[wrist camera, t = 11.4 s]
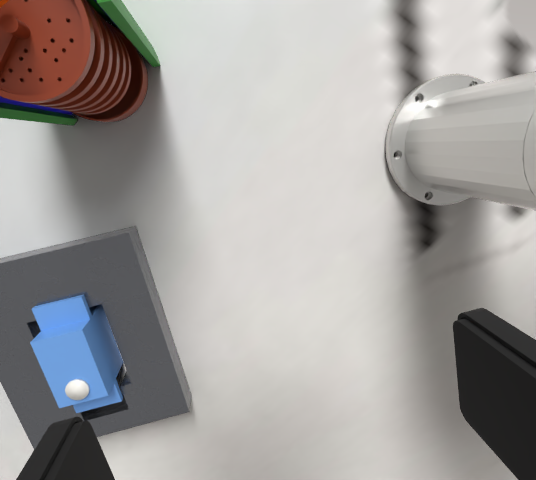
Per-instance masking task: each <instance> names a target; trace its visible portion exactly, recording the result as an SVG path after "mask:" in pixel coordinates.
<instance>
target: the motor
mask: <svg viewBox="0 0 536 480" xmlns="http://www.w3.org/2000/svg"><path fill="white" fill-rule="evenodd" d="M106 21H109V22H112V23H114V24H115V25H116V26H117V27H118V29H119V30H121V31H122V32H123V33H124V34H125V35H126V36H125V35H124V34H123V33H122V32H121V31H119V30H118V29H117V28H115V27H114V26H112V25H110V24H108V23H107V22H106ZM131 42H132V43H131ZM136 48H137V49H138V50H139V51H138V50H137V49H136ZM139 52H140V53H141V54H142V55H143V56H144V57H145V59H146V60H147V61H148V62H149V63H150V64H151V66H152V67H156V66H160V63H159V60H158V57H157V55H156V52H155V50H154V48H153V47H152V45H151V44H150V42H149V41H148V39H147V38H146V36H145V35H144V33H143V32H142V30H141V29H140V27H139V26H138V24H137V23H136V21H135V20H134V18H133V17H132V15H131V14H130V13H129V11H128V10H127V8H126V7H125V5H124V4H123V2H122V1H121V0H0V118H8V119H17V120H26V121H36V122H45V123H54V124H64V125H73V126H74V125H75V123H76V122H77V120H78V119H76V118H75V117H73V116H72V114H73V113H74V114H76V115H78V116H80V117H82V118H85V119H89V120H95V121H101V122H115V121H119V120H122V119H125V118H127V117H129V116H130V115H132V114H133V113H134V112H135V111H136V110H137V109H138V108H139V107H140V106H141V104H142V102H143V100H144V98H145V96H146V92H147V87H148V75H147V69H146V66H145V63H144V60H143V58H142V56H141V54H140V53H139Z"/></svg>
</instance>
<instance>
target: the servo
mask: <svg viewBox="0 0 536 480" xmlns="http://www.w3.org/2000/svg"><path fill="white" fill-rule="evenodd" d="M32 311H33V314H34V316H35V318H36V321H37V323H38V325H39V328H40V330H41V332H40V333H39V334H38V335H37V336H36V337H35V338H34V339H33V340H32V341H31V342H30V344H31V346H32V348H33V350H34V353H35V355H36V357H37V359H38V362H39V364H40V366H41V368H42V371H43V373H44V375H45V377H46V380H47V382H48V384H49V386H50V389H51V391H52V393H53V396H54V398H55V400H56V402H57V405H58V407H59V408H63V407H66V406H70V405H73V407H74V409H75V412H76V413H79V412H83V411H87V410H91V409H94V408H98V407H102V406H106V405H110V404H114V403H117V402H121V401H122V399H123V396H122V393H121V390H120V388H119V385H118V382H117V380H116V377H117V375H118V373H119V370H120V368H121V366H122V364H123V360H122V358H121V355H120V352H119V349H118V347H117V344H116V341H115V339H114V336H113V333H112V331H111V328H110V325H109V322H108V320H107V317H106V314H105V312H104V309H103V306H102V304H100V305H96V306H92V307H89V306H88V304H87V301H86V299H85V296H84V295H79V296H75V297H71V298H67V299H63V300H59V301H54V302H50V303H46V304H42V305H38V306H34V307H33V308H32Z"/></svg>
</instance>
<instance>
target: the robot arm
mask: <svg viewBox="0 0 536 480" xmlns="http://www.w3.org/2000/svg"><path fill="white" fill-rule="evenodd" d="M415 97H416V98H417V100H416V101H415ZM394 153H395V154H396V156H395V157H394ZM386 160H387V163H388V167H389V171H390V173H391V175H392V177H393V179H394V181H395V182H396V183H397V185H398V186H399V187H400V189H401V190H402V191H404V192H405V193H406V194H407V195H408V196H410V197H412V198H414V199H416V200H418V201H420V202H423V203H427V204H432V205H451V204H455V203H459V202H462V201H464V200H466V199H468V198H470V197H473V198H478V199H482V200H487V201H492V202H497V203H502V204H507V205H511V206H516V207H521V208H526V209H531V210H535V211H536V71H534V72H530V73H526V74H521V75H517V76H513V77H509V78H504V79H500V80H496V81H492V82H488V83H485V82H483V81H482V80H480V79H478V78H475V77H473V76H470V75H464V74H450V75H443V76H440V77H437V78H434V79H431V80H429V81H427V82H425V83H422V84H421V85H420V86H418V87H417V88H415V89H414V90H413V91H411V92H410V93H409V95H408V96H407V97H406V98H405V99H404V100H403V101H402V102H401V104H400V105H399V107H398V108H397V110H396V111H395V113H394V115H393V118H392V120H391V122H390V125H389V129H388V132H387V137H386ZM425 194H426V196H425ZM453 332H454V344H455V355H456V367H457V378H458V390H459V401H460V409H461V412H462V414H463V416H464V418H465V419H466V421H467V422H468V423H469V424H470V426H471V427H472V428H473V429H474V430H475V431H476V432H477V433H478V435H479V436H480V437H481V438H482V439H483V440H484V441H485V442H486V444H487V445H488V446H489V447H490V448H491V449H492V450H493V451H494V453H495V454H496V455H497V456H498V457H499V458H500V459H501V460H502V462H503V463H504V464H505V465H506V466H507V467H508V468H509V469H510V471H511V472H512V473H513V474H514V475H515V476H516V477H517V479H518V480H536V340H535V339H533V338H532V337H530V336H528V335H527V334H525V333H523V332H522V331H520V330H519V329H517V328H515V327H514V326H512V325H511V324H509V323H507V322H506V321H504V320H503V319H501V318H499V317H498V316H496V315H494V314H493V313H491V312H490V311H488V310H486V309H484V308H479V309H475V310H472V311H468V312H464V313H461V314H459V316H458V320H457V321H455V322H454V323H453ZM16 480H115V479H114V476H113V474H112V472H111V469H110V467H109V465H108V463H107V460H106V458H105V456H104V453H103V451H102V449H101V446H100V444H99V442H98V440H97V437H96V435H95V433H94V430H93V428H92V426H91V424H90V422H89V421H83V420H82V419H81V418H80V417H73V418H69V419H65V420H62V421H58V422H54V423H52V424H51V425H50V426H49V427H48V429H47V430H46V432H45V434H44V435H43V437H42V439H41V440H40V442H39V443H38V445H37V447H36V448H35V450H34V452H33V453H32V455H31V456H30V458H29V460H28V461H27V463H26V465H25V466H24V468H23V469H22V471H21V473H20V474H19V476H18V478H17V479H16Z"/></svg>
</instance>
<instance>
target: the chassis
mask: <svg viewBox="0 0 536 480" xmlns="http://www.w3.org/2000/svg"><path fill="white" fill-rule="evenodd" d="M79 295H84V296H85V299H86V301H87V304H88V306H89V307H92V306H96V305H100V304H102V306H103V309H104V311H105V314H106V317H107V319H108V322H109V324H110V327H111V330H112V332H113V335H114V338H115V340H116V343H117V345H118V348H119V351H120V353H121V356H122V359H123V361H124V364H125V366H126V369H127V372H126V374H125V376H124V379H123V381H122V383H121V386H120V388H121V390H122V393H123V395H122V396H123V399H122V401H121V402H117V403H114V404H110V405H106V406H102V407H98V408H94V409H91V410H87V411H83V412H79V413H76V412H75V409H74V407H73V405H70V406H66V407H63V408H59V407H58V405H57V402H56V400H55V398H54V396H53V393H52V391H51V389H50V386H49V384H48V382H47V380H46V377H45V375H44V373H43V371H42V368H41V366H40V364H39V362H38V359H37V357H36V355H35V353H34V350H33V348H32V346H31V344H30V342H31V341H32V340H33V339H34V338H35V337H36V336H37V335H38V334H39V333H40V332H41V330H40V328H39V325H38V323H37V321H36V318H35V316H34V314H33V311H32V308H33V307H34V306H38V305H42V304H46V303H50V302H54V301H59V300H63V299H67V298H71V297H75V296H79ZM0 382H1V384H2V386H3V388H4V390H5V392H6V394H7V396H8V398H9V400H10V402H11V404H12V406H13V408H14V410H15V412H16V414H17V416H18V418H19V420H20V422H21V424H22V426H23V428H24V430H25V432H26V434H27V436H28V438H29V440H30V442H31V444H32V446H33V448H34V450H35V448H36V447H37V445H38V443H39V442H40V440H41V439H42V437H43V435H44V434H45V432H46V430H47V429H48V427H49V426H50V425H51V424H52V423H54V422H58V421H62V420H65V419H69V418H73V417H80V418H81V419H82V420H83V421H89V422H90V424H91V426H92V428H93V430H94V433H95V435H96V437H98V436H102V435H106V434H109V433H113V432H117V431H120V430H124V429H128V428H131V427H135V426H139V425H142V424H146V423H150V422H153V421H157V420H161V419H164V418H168V417H172V416H175V415H179V414H183V413H186V412H189V411H190V403H191V392H190V389H189V386H188V383H187V380H186V377H185V374H184V371H183V368H182V365H181V362H180V359H179V356H178V353H177V350H176V347H175V343H174V340H173V337H172V334H171V331H170V328H169V325H168V322H167V319H166V316H165V313H164V310H163V307H162V304H161V301H160V298H159V295H158V292H157V289H156V286H155V283H154V280H153V277H152V274H151V271H150V268H149V265H148V262H147V259H146V256H145V253H144V250H143V247H142V244H141V241H140V238H139V235H138V231H137V228H136V226H134V227H130V228H126V229H121V230H117V231H113V232H109V233H105V234H100V235H96V236H92V237H88V238H84V239H80V240H75V241H71V242H67V243H63V244H59V245H54V246H50V247H46V248H42V249H38V250H33V251H29V252H25V253H21V254H17V255H12V256H8V257H4V258H0Z"/></svg>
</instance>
